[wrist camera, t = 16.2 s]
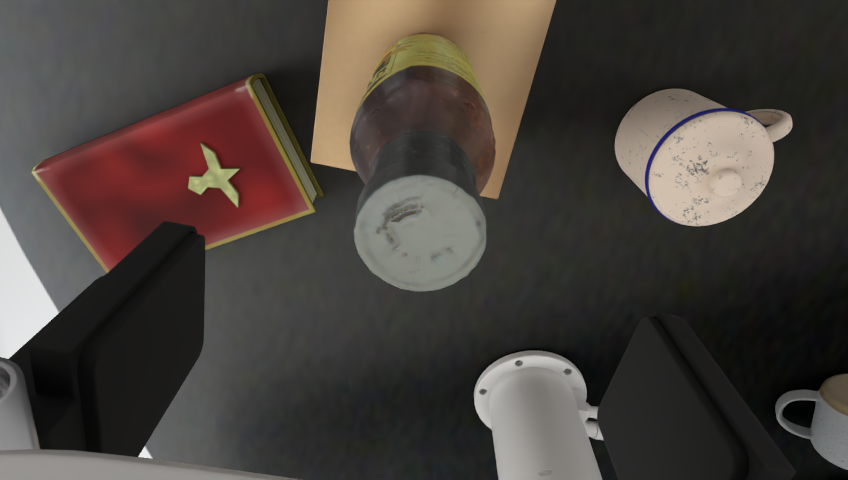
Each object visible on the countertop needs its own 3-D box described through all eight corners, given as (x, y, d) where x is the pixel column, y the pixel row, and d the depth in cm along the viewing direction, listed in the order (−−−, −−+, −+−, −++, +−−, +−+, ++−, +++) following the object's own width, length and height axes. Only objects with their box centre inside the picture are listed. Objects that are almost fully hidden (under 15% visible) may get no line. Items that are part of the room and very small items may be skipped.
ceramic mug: (874, 362, 58) (932, 415, 51) (865, 415, 61) (918, 472, 54) (771, 379, 59) (815, 432, 52) (768, 430, 63) (808, 486, 56)
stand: (524, -11, 41) (557, -4, 30) (482, 146, 47) (497, 199, 36) (360, -49, 40) (334, -56, 29) (338, 117, 46) (310, 162, 35)
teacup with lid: (625, 200, 49) (677, 262, 39) (598, 112, 45) (647, 154, 35) (758, 148, 47) (851, 199, 36) (740, 50, 43) (839, 76, 33)
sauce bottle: (375, 27, 31) (302, 104, 14) (479, 32, 31) (542, 114, 14) (375, 135, 34) (316, 312, 17) (470, 139, 34) (513, 320, 17)
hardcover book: (57, 153, 48) (25, 169, 44) (261, 70, 44) (246, 79, 40) (134, 261, 53) (111, 283, 49) (323, 194, 49) (314, 213, 45)
